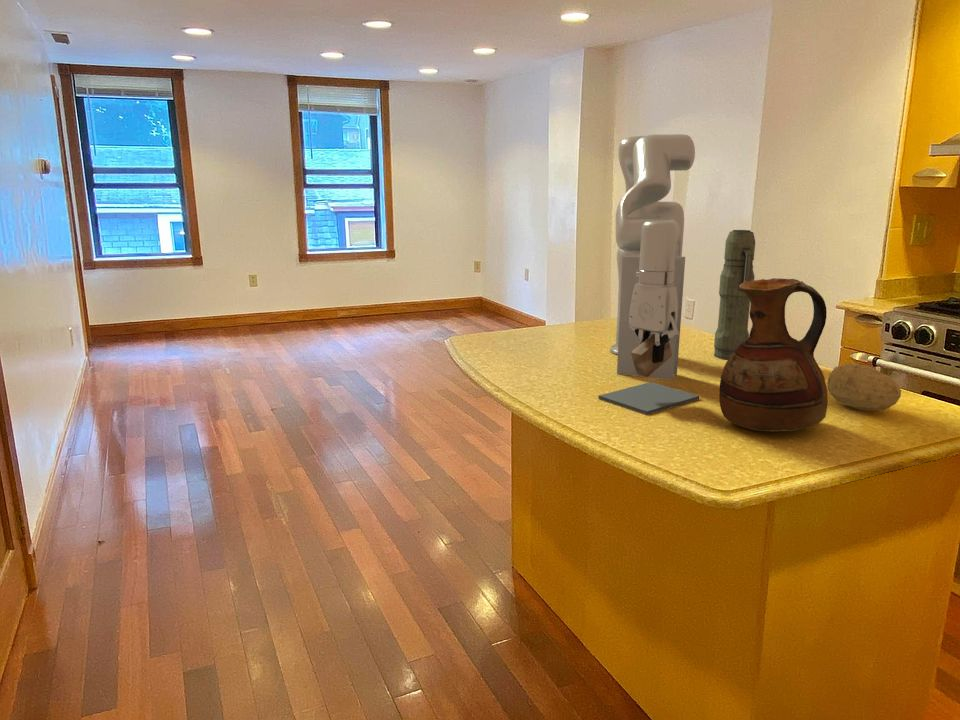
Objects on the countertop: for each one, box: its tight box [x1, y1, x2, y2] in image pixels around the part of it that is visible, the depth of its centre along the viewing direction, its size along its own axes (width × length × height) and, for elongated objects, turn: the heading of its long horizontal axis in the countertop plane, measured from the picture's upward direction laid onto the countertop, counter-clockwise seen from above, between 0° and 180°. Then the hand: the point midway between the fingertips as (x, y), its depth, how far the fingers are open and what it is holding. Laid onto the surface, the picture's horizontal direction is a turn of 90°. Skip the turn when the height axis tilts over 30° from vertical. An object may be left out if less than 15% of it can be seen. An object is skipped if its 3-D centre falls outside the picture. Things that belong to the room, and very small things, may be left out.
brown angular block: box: [631, 332, 672, 378], centre depth 154 cm, size 3×9×6 cm, turn 127°
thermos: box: [713, 229, 756, 361], centre depth 190 cm, size 9×12×35 cm
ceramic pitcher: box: [718, 278, 829, 432], centre depth 137 cm, size 20×20×30 cm
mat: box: [598, 381, 700, 416], centre depth 157 cm, size 18×14×1 cm
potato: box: [826, 363, 902, 412], centre depth 149 cm, size 10×14×10 cm
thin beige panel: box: [616, 254, 686, 381], centre depth 173 cm, size 14×6×30 cm, turn 65°
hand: (651, 359), depth 154 cm, fingers closed on brown angular block, 2 cm apart
